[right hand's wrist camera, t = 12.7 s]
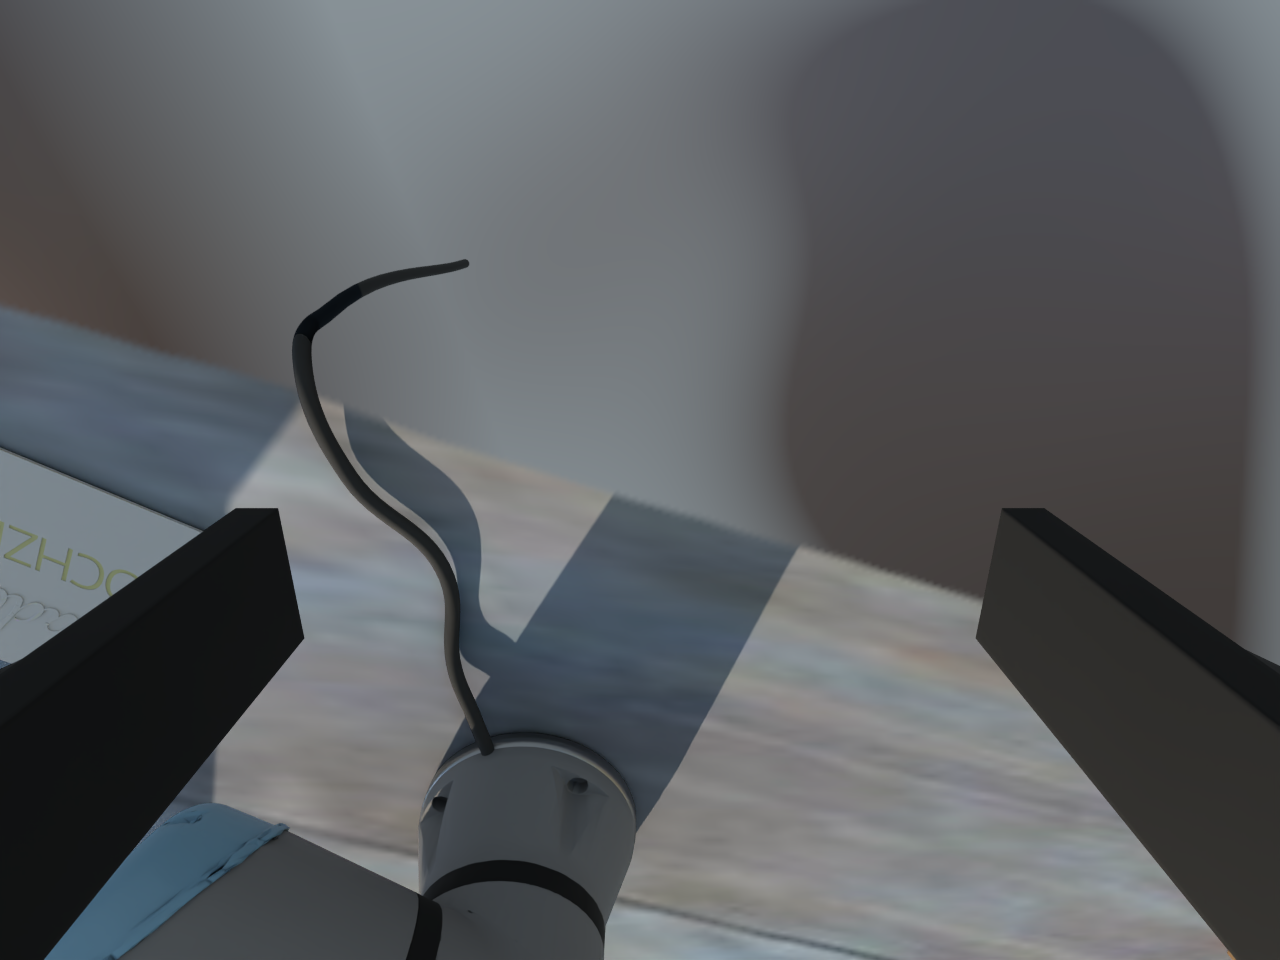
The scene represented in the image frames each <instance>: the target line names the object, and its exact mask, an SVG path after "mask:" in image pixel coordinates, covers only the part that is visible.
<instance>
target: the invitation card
mask: <svg viewBox="0 0 1280 960" xmlns="http://www.w3.org/2000/svg"><path fill="white" fill-rule="evenodd" d="M201 532H203V531H201V530H199V529H197V528H194V527H192V526H189V525H187V524H184V523H182V522H180V521H177V520H175V519H172V518H170V517H167V516H165V515H163V514H160V513H158V512H155V511H153V510H151V509H148V508H146V507H143V506H141V505H138V504H136V503H134V502H131V501H129V500H126V499H124V498H121V497H119V496H117V495H114V494H112V493H109V492H107V491H105V490H102V489H100V488H97V487H95V486H92V485H90V484H88V483H85V482H83V481H80V480H78V479H75V478H73V477H71V476H68V475H66V474H63V473H61V472H59V471H56V470H54V469H51V468H49V467H46V466H44V465H42V464H39V463H37V462H34V461H32V460H29V459H27V458H25V457H22V456H20V455H17V454H15V453H12V452H10V451H8V450H5V449H3V448H0V660H3V661H5V662H8V663H11V664H12V663H14V662H16V661H18V660H20V659H22V658H24V657H25V656H27V655H28V654H30V653H31V652H32V651H34V650H35V649H37V648H38V647H39V646H41V645H42V644H44V643H45V642H47V641H48V640H49V639H51V638H52V637H54V636H55V635H56V634H58V633H59V632H61V631H62V630H64V629H65V628H66V627H68V626H69V625H71V624H72V623H74V622H75V621H76V620H78V619H79V618H81V617H82V616H83V615H85V614H86V613H88V612H89V611H91V610H92V609H93V608H95V607H96V606H98V605H99V604H101V603H102V602H103V601H105V600H106V599H108V598H109V597H110V596H112V595H113V594H115V593H116V592H118V591H119V590H120V589H122V588H123V587H125V586H126V585H128V584H129V583H130V582H132V581H133V580H135V579H136V578H137V577H139V576H140V575H142V574H143V573H145V572H146V571H147V570H149V569H150V568H152V567H153V566H154V565H156V564H157V563H159V562H160V561H162V560H163V559H164V558H166V557H167V556H169V555H170V554H172V553H173V552H174V551H176V550H177V549H179V548H180V547H181V546H183V545H184V544H186V543H187V542H189V541H190V540H191V539H193V538H194V537H196V536H197V535H199V534H200V533H201Z"/></svg>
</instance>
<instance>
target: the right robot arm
mask: <svg viewBox="0 0 1280 960" xmlns="http://www.w3.org/2000/svg"><path fill="white" fill-rule="evenodd" d="M468 266H469V261H468V260H466V259H463V260H459V261H456V262H451V263H445V264H438V265H431V266H422V267H415V268H408V269H403V270H397V271H393V272H388V273H384V274H380V275H377V276H374V277H371V278H368V279H366V280H364V281H361V282H359V283H357V284H354V285H352V286H351V287H349V288H347V289H346V290H344V291H342V292H341V293H339V294H337V295H336V296H335V297H333V298H332V299H331V300H330V301H328V302H327V303H326V304H324V305H323V306H322V307H320V308H319V309H318V310H316V311H314V312H313V313H311V314H310V315H308V316H307V317H306V318H305V319H304V320H303V321H302V322H301V323H300V325H299V326H298V328H297V330H296V332H295V334H294V338H293V346H292V358H293V368H294V376H295V382H296V387H297V391H298V395H299V399H300V402H301V405H302V408H303V411H304V414H305V417H306V419H307V422H308V424H309V426H310V428H311V430H312V433H313V435H314V437H315V439H316V440H317V442H318V444H319V446H320V448H321V449H322V451H323V453H324V455H325V456H326V458H327V459H328V461H329V463H330V464H331V466H332V467H333V469H334V470H335V472H336V473H337V475H338V476H339V478H340V479H341V481H342V482H343V483H344V485H345V486H346V487H347V489H348V490H349V491H350V493H351V494H352V495H353V496H354V497H355V498H356V499H357V500H358V501H359V502H360V503H361V504H362V505H363V506H364V507H365V508H366V509H368V510H369V511H370V512H371V513H373V514H374V515H375V516H376V517H378V518H379V519H380V520H382V521H383V522H384V523H386V524H387V525H389V526H390V527H391V528H393V529H394V530H395V531H397V532H398V533H400V534H401V535H402V536H404V537H405V538H406V539H407V540H409V541H410V542H411V543H412V544H413V545H414V546H416V547H417V548H418V549H419V550H420V551H421V552H422V553H423V554H424V556H425V557H426V558H427V559H428V561H429V562H430V563H431V565H432V567H433V568H434V570H435V572H436V574H437V576H438V578H439V580H440V583H441V586H442V589H443V594H444V599H445V629H444V649H445V659H446V666H447V670H448V675H449V678H450V681H451V684H452V687H453V689H454V692H455V694H456V696H457V698H458V701H459V703H460V705H461V707H462V709H463V712H464V714H465V716H466V719H467V721H468V723H469V726H470V728H471V731H472V733H473V735H474V738H475V740H476V742H475V743H473V744H471V745H469V746H467V747H465V748H463V749H462V750H460V751H459V752H457V753H456V754H454V755H453V756H452V757H451V758H449V759H448V760H447V761H446V762H445V763H444V764H443V765H442V767H441V768H440V769H439V770H438V772H437V773H436V775H435V776H434V778H433V780H432V782H431V784H430V786H429V789H428V792H427V794H426V797H425V800H424V802H423V805H422V810H421V815H420V820H419V826H418V857H419V894H418V893H416V892H414V891H412V890H410V889H407V888H405V887H403V886H401V885H399V884H397V883H395V882H393V881H391V880H389V879H387V878H384V877H382V876H380V875H378V874H376V873H374V872H372V871H370V870H368V869H366V868H364V867H361V866H359V865H357V864H355V863H353V862H351V861H349V860H347V859H345V858H343V857H341V856H339V855H336V854H334V853H332V852H330V851H328V850H326V849H324V848H322V847H320V846H318V845H316V844H313V843H311V842H309V841H307V840H305V839H303V838H301V837H299V836H297V835H295V834H293V833H290V832H288V830H289V828H290V827H288V826H287V825H285V824H283V823H279V824H277V825H273V824H270V823H268V822H265V821H263V820H260V819H258V818H255V817H253V816H251V815H248V814H246V813H243V812H241V811H238V810H236V809H234V808H231V807H229V806H226V805H222V804H217V803H204V804H199V805H196V806H193V807H190V808H188V809H185V810H183V811H181V812H179V813H178V814H176V815H175V816H173V817H172V818H170V819H169V820H167V821H166V822H165V823H164V824H162V825H161V826H160V827H159V828H158V829H156V830H155V831H154V832H153V833H152V834H151V835H150V836H149V837H147V838H146V839H145V840H144V841H143V842H142V843H141V844H140V845H139V846H138V847H137V848H136V849H135V850H134V851H133V852H132V850H133V849H134V848H135V847H136V845H137V844H138V843H139V842H140V841H141V839H142V838H143V837H144V836H145V834H146V833H147V832H148V831H149V829H150V828H151V827H152V826H153V824H154V823H155V822H156V821H157V820H158V818H159V817H160V816H161V815H162V813H163V812H164V811H165V810H166V808H167V807H168V806H169V805H170V804H171V802H172V801H173V800H174V799H175V797H176V796H177V795H178V794H179V792H180V791H181V790H182V789H183V787H184V786H185V785H186V784H187V783H188V781H189V780H190V779H191V778H192V776H193V775H194V774H195V773H196V771H197V770H198V769H199V768H200V766H201V765H202V764H203V763H204V762H205V760H206V759H207V758H208V757H209V755H210V754H211V753H212V752H213V750H214V749H215V748H216V747H217V745H218V744H219V743H220V742H221V741H222V739H223V738H224V737H225V736H226V734H227V733H228V732H229V731H230V729H231V728H232V727H233V726H234V724H235V723H236V722H237V721H238V720H239V718H240V717H241V716H242V715H243V713H244V712H245V711H246V710H247V708H248V707H249V706H250V705H251V703H252V702H253V701H254V700H255V699H256V697H257V696H258V695H259V694H260V692H261V691H262V690H263V689H264V687H265V686H266V685H267V684H268V682H269V681H270V680H271V679H272V678H273V676H274V675H275V674H276V673H277V671H278V670H279V669H280V668H281V666H282V665H283V664H284V663H285V661H286V660H287V659H288V658H289V657H290V655H291V654H292V653H293V652H294V650H295V649H296V648H297V647H298V645H299V644H300V643H301V642H302V640H303V639H304V634H303V629H302V624H301V619H300V615H299V610H298V605H297V600H296V595H295V590H294V585H293V580H292V575H291V570H290V565H289V560H288V555H287V550H286V545H285V540H284V535H283V531H282V526H281V521H280V516H279V511H278V508H235V509H234V510H233V511H231V512H230V513H228V514H227V515H226V516H224V517H223V518H221V519H220V520H218V521H217V522H216V523H214V524H213V525H211V526H210V527H208V528H207V529H206V530H204V531H203V532H201V533H200V534H199V535H197V536H196V537H194V538H193V539H191V540H190V541H189V542H187V543H186V544H184V545H183V546H181V547H180V548H179V549H177V550H176V551H174V552H173V553H172V554H170V555H169V556H167V557H166V558H164V559H163V560H162V561H160V562H159V563H157V564H156V565H154V566H153V567H152V568H150V569H149V570H147V571H146V572H145V573H143V574H142V575H140V576H139V577H137V578H136V579H135V580H133V581H132V582H130V583H129V584H128V585H126V586H125V587H123V588H122V589H120V590H119V591H118V592H116V593H115V594H113V595H112V596H110V597H109V598H108V599H106V600H105V601H103V602H102V603H101V604H99V605H98V606H96V607H95V608H93V609H92V610H91V611H89V612H88V613H86V614H85V615H83V616H82V617H81V618H79V619H78V620H76V621H75V622H74V623H72V624H71V625H69V626H68V627H66V628H65V629H64V630H62V631H61V632H59V633H58V634H56V635H55V636H54V637H52V638H51V639H49V640H48V641H47V642H45V643H44V644H42V645H41V646H39V647H38V648H37V649H35V650H34V651H32V652H31V653H30V654H28V655H27V656H25V657H24V658H22V659H20V660H18V661H16V662H14V663H12V664H10V665H8V666H6V667H4V668H2V669H0V960H604V941H605V926H606V923H607V921H608V918H609V916H610V913H611V910H612V908H613V905H614V903H615V900H616V898H617V895H618V893H619V890H620V888H621V885H622V883H623V880H624V877H625V875H626V872H627V870H628V867H629V865H630V862H631V859H632V854H633V849H634V843H635V835H636V812H635V805H634V801H633V798H632V795H631V793H630V790H629V788H628V786H627V785H626V783H625V781H624V780H623V778H622V777H621V776H620V774H619V773H618V772H617V771H616V770H615V769H614V767H613V766H612V765H610V764H609V763H608V762H607V761H606V760H605V759H603V758H602V757H601V756H599V755H598V754H596V753H595V752H593V751H592V750H590V749H588V748H586V747H584V746H582V745H580V744H578V743H575V742H573V741H570V740H567V739H564V738H560V737H556V736H551V735H546V734H538V733H512V734H504V735H498V736H494V737H490V735H489V733H488V730H487V728H486V726H485V723H484V721H483V718H482V716H481V713H480V711H479V708H478V706H477V704H476V702H475V699H474V697H473V695H472V693H471V691H470V688H469V686H468V684H467V681H466V679H465V676H464V673H463V669H462V665H461V660H460V654H459V628H460V598H459V590H458V585H457V582H456V579H455V575H454V573H453V571H452V568H451V566H450V564H449V562H448V561H447V559H446V557H445V555H444V554H443V553H442V551H441V550H440V549H439V547H438V546H437V545H436V544H435V543H434V541H433V540H432V539H431V538H430V537H429V536H428V535H427V534H425V533H424V532H423V531H422V530H421V529H420V528H418V527H417V526H416V525H415V524H413V523H412V522H411V521H409V520H408V519H407V518H405V517H404V516H403V515H401V514H400V513H398V512H397V511H396V510H394V509H393V508H392V507H390V506H389V505H388V504H386V503H385V502H384V501H383V500H382V499H380V498H379V497H378V496H377V495H376V494H375V493H374V492H373V491H372V490H371V489H370V488H369V487H368V486H367V485H366V484H365V483H364V482H363V480H362V479H361V478H360V476H359V475H358V474H357V472H356V471H355V469H354V468H353V466H352V465H351V463H350V462H349V460H348V459H347V457H346V455H345V454H344V452H343V450H342V449H341V447H340V445H339V444H338V442H337V440H336V438H335V436H334V435H333V433H332V431H331V429H330V427H329V424H328V422H327V420H326V418H325V415H324V413H323V410H322V407H321V404H320V401H319V398H318V394H317V390H316V386H315V381H314V375H313V368H312V357H311V348H312V341H313V338H314V335H315V333H316V332H317V331H318V330H320V329H321V328H322V327H324V326H325V325H326V324H328V323H329V322H330V321H332V320H333V319H334V318H335V317H336V316H338V315H339V314H340V313H341V312H342V311H343V310H345V309H346V308H347V307H348V306H350V305H351V304H353V303H354V302H356V301H357V300H359V299H360V298H362V297H364V296H366V295H368V294H370V293H372V292H374V291H376V290H378V289H381V288H383V287H386V286H389V285H392V284H396V283H399V282H403V281H407V280H411V279H416V278H422V277H428V276H434V275H439V274H444V273H449V272H454V271H457V270H461V269H464V268H467V267H468ZM976 639H977V640H978V642H979V643H980V644H981V645H982V647H983V648H984V649H985V650H986V652H987V653H988V654H989V655H990V657H991V658H992V659H993V660H994V661H995V663H996V664H997V665H998V666H999V668H1000V669H1001V670H1002V671H1003V673H1004V674H1005V675H1006V676H1007V678H1008V679H1009V680H1010V681H1011V682H1012V684H1013V685H1014V686H1015V687H1016V689H1017V690H1018V691H1019V692H1020V694H1021V695H1022V696H1023V697H1024V699H1025V700H1026V701H1027V702H1028V703H1029V705H1030V706H1031V707H1032V708H1033V710H1034V711H1035V712H1036V713H1037V715H1038V716H1039V717H1040V718H1041V720H1042V721H1043V722H1044V723H1045V724H1046V726H1047V727H1048V728H1049V729H1050V731H1051V732H1052V733H1053V734H1054V736H1055V737H1056V738H1057V739H1058V741H1059V742H1060V743H1061V744H1062V745H1063V747H1064V748H1065V749H1066V750H1067V752H1068V753H1069V754H1070V755H1071V757H1072V758H1073V759H1074V760H1075V762H1076V763H1077V764H1078V765H1079V766H1080V768H1081V769H1082V770H1083V771H1084V773H1085V774H1086V775H1087V776H1088V778H1089V779H1090V780H1091V781H1092V783H1093V784H1094V785H1095V786H1096V787H1097V789H1098V790H1099V791H1100V792H1101V794H1102V795H1103V796H1104V797H1105V799H1106V800H1107V801H1108V802H1109V804H1110V805H1111V806H1112V807H1113V808H1114V810H1115V811H1116V812H1117V813H1118V815H1119V816H1120V817H1121V818H1122V820H1123V821H1124V822H1125V823H1126V825H1127V826H1128V827H1129V828H1130V829H1131V831H1132V832H1133V833H1134V834H1135V836H1136V837H1137V838H1138V839H1139V841H1140V842H1141V843H1142V844H1143V845H1144V847H1145V848H1146V849H1147V850H1148V852H1149V853H1150V854H1151V855H1152V857H1153V858H1154V859H1155V860H1156V862H1157V863H1158V864H1159V865H1160V866H1161V868H1162V869H1163V870H1164V871H1165V873H1166V874H1167V875H1168V876H1169V878H1170V879H1171V880H1172V881H1173V883H1174V884H1175V885H1176V886H1177V887H1178V889H1179V890H1180V891H1181V892H1182V894H1183V895H1184V896H1185V897H1186V899H1187V900H1188V901H1189V902H1190V904H1191V905H1192V906H1193V907H1194V908H1195V910H1196V911H1197V912H1198V913H1199V915H1200V916H1201V917H1202V918H1203V920H1204V921H1205V922H1206V923H1207V925H1208V926H1209V927H1210V928H1211V929H1212V931H1213V932H1214V933H1215V934H1216V936H1217V937H1218V938H1219V939H1220V941H1221V942H1222V943H1223V944H1224V946H1225V947H1226V948H1227V949H1228V950H1229V952H1230V953H1231V954H1232V955H1233V957H1234V958H1235V959H1236V960H1280V666H1279V665H1277V664H1274V663H1272V662H1270V661H1268V660H1266V659H1264V658H1262V657H1260V656H1258V655H1255V654H1253V653H1251V652H1249V651H1247V650H1245V649H1243V648H1242V647H1241V646H1239V645H1238V644H1236V643H1235V642H1233V641H1232V640H1231V639H1229V638H1228V637H1226V636H1225V635H1224V634H1222V633H1221V632H1219V631H1218V630H1216V629H1215V628H1214V627H1212V626H1211V625H1209V624H1208V623H1206V622H1205V621H1204V620H1202V619H1201V618H1199V617H1198V616H1197V615H1195V614H1194V613H1192V612H1191V611H1189V610H1188V609H1187V608H1185V607H1184V606H1182V605H1181V604H1179V603H1178V602H1177V601H1175V600H1174V599H1172V598H1171V597H1169V596H1168V595H1167V594H1165V593H1164V592H1162V591H1161V590H1160V589H1158V588H1157V587H1155V586H1154V585H1152V584H1151V583H1150V582H1148V581H1147V580H1145V579H1144V578H1142V577H1141V576H1140V575H1138V574H1137V573H1135V572H1134V571H1133V570H1131V569H1130V568H1128V567H1127V566H1125V565H1124V564H1123V563H1121V562H1120V561H1118V560H1117V559H1116V558H1114V557H1113V556H1111V555H1110V554H1108V553H1107V552H1106V551H1104V550H1103V549H1101V548H1100V547H1098V546H1097V545H1096V544H1094V543H1093V542H1091V541H1090V540H1089V539H1087V538H1086V537H1084V536H1083V535H1081V534H1080V533H1079V532H1077V531H1076V530H1074V529H1073V528H1072V527H1070V526H1069V525H1067V524H1066V523H1064V522H1063V521H1062V520H1060V519H1059V518H1057V517H1056V516H1054V515H1053V514H1052V513H1050V512H1049V511H1047V510H1046V509H1045V508H1002V511H1001V516H1000V521H999V526H998V531H997V535H996V541H995V546H994V550H993V555H992V560H991V565H990V570H989V575H988V580H987V585H986V590H985V595H984V600H983V605H982V610H981V615H980V619H979V624H978V629H977V634H976ZM131 852H132V853H131ZM130 853H131V854H130Z"/></svg>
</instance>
